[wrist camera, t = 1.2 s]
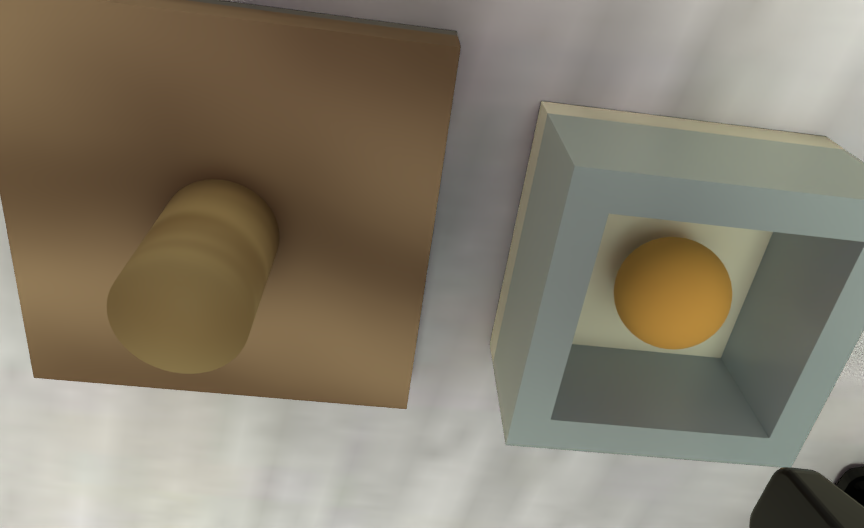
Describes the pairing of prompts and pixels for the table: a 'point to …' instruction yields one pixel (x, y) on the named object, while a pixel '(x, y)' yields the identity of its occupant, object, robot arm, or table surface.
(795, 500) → the robot arm
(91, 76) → the walnut lid
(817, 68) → the table surface
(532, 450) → the table surface
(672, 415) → the grey square box
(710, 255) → the clementine
